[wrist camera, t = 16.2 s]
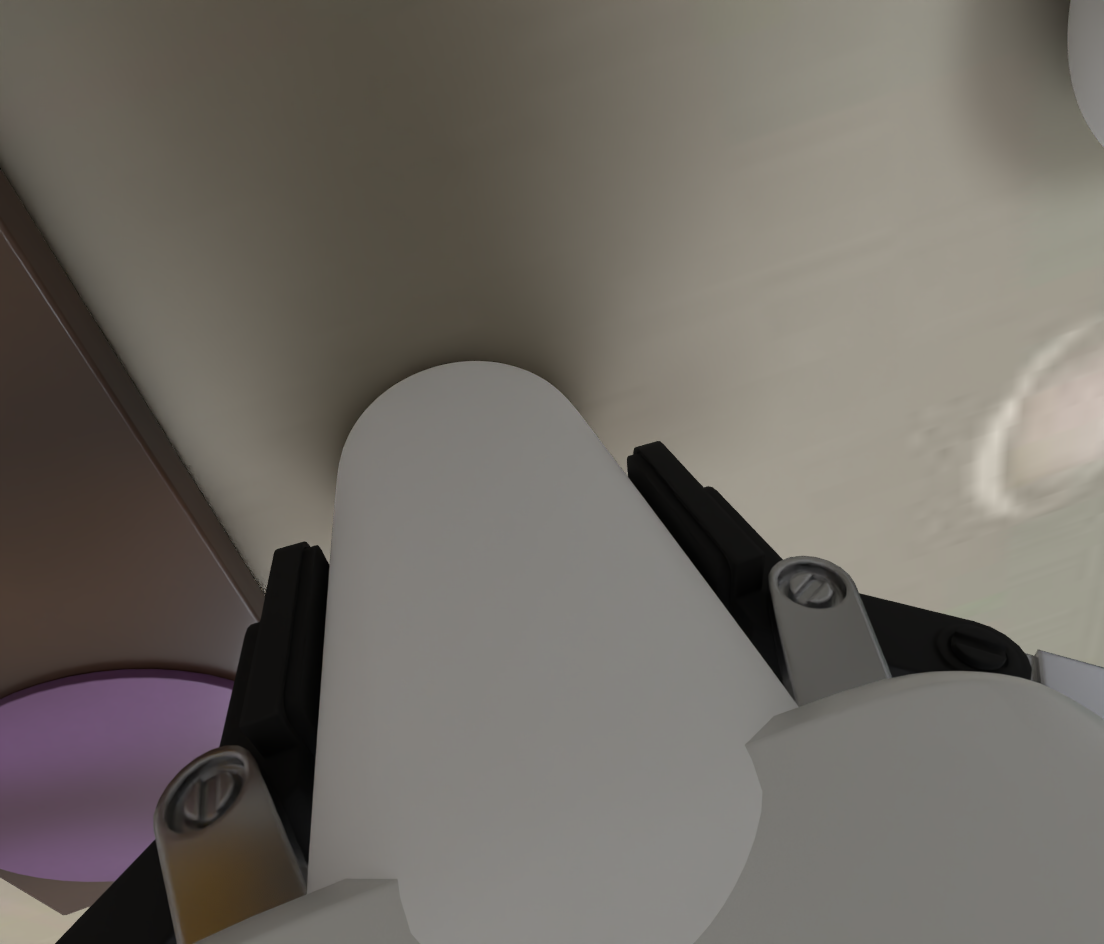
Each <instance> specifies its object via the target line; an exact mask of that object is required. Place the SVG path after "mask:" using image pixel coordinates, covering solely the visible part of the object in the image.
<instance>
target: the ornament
mask: <svg viewBox="0 0 1104 944" xmlns="http://www.w3.org/2000/svg"><path fill="white" fill-rule="evenodd" d="M1067 43H1068V62H1069V70H1070V76H1071V81H1072V86H1073V90H1074V93H1075V97H1076V100H1077V103H1078V105H1079V108H1080V110H1081V113H1082V115H1083V117H1084V119H1085V121H1086V123H1087V124H1088V126H1089V128H1090V129H1091V131H1092V133H1093V134H1094V136H1095V137H1096V138H1097V140H1098V141H1099V142H1100V143H1101V145H1102V146H1103V147H1104V0H1071V1H1070V9H1069V18H1068V37H1067Z"/></svg>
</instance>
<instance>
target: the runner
mask: <svg viewBox="0 0 1104 944" xmlns="http://www.w3.org/2000/svg"><path fill="white" fill-rule="evenodd" d="M264 600H265V596H264V594H263V593H262V591H261V589H260V588H259V586H258V584H257V583H256V581H255V580H254V578H253V576H252V575H251V573H250V571H249V570H248V568H247V567H246V565H245V563H244V562H243V560H242V559H241V557H240V555H239V554H238V552H237V550H236V549H235V547H234V546H233V544H232V542H231V541H230V539H229V538H228V536H227V534H226V533H225V531H224V529H223V528H222V526H221V525H220V523H219V521H218V520H217V518H216V516H215V515H214V513H213V512H212V510H211V508H210V507H209V505H208V504H207V502H206V500H205V499H204V497H203V495H202V494H201V492H200V491H199V489H198V487H197V486H196V484H195V482H194V481H193V479H192V478H191V476H190V474H189V473H188V471H187V470H186V468H185V466H184V465H183V463H182V461H181V460H180V458H179V457H178V455H177V453H176V452H175V450H174V448H173V447H172V445H171V444H170V442H169V440H168V439H167V437H166V436H165V434H164V432H163V431H162V429H161V427H160V426H159V424H158V423H157V421H156V419H155V418H154V416H153V414H152V413H151V411H150V410H149V408H148V406H147V405H146V403H145V402H144V400H143V398H142V397H141V395H140V393H139V392H138V390H137V389H136V387H135V385H134V384H133V382H132V380H131V379H130V377H129V376H128V374H127V372H126V371H125V369H124V368H123V366H122V364H121V363H120V361H119V359H118V358H117V356H116V355H115V353H114V351H113V350H112V348H111V346H110V345H109V343H108V342H107V340H106V338H105V337H104V335H103V334H102V332H101V330H100V329H99V327H98V325H97V324H96V322H95V321H94V319H93V317H92V316H91V314H90V312H89V311H88V309H87V308H86V306H85V304H84V303H83V301H82V300H81V298H80V296H79V295H78V293H77V291H76V290H75V288H74V287H73V285H72V283H71V282H70V280H69V278H68V277H67V275H66V274H65V272H64V270H63V269H62V267H61V266H60V264H59V262H58V261H57V259H56V257H55V256H54V254H53V253H52V251H51V249H50V248H49V246H48V245H47V243H46V241H45V240H44V238H43V236H42V235H41V233H40V232H39V230H38V228H37V227H36V225H35V223H34V222H33V220H32V219H31V217H30V215H29V214H28V212H27V211H26V209H25V207H24V206H23V204H22V202H21V201H20V199H19V198H18V196H17V194H16V193H15V191H14V189H13V188H12V186H11V185H10V183H9V181H8V180H7V178H6V177H5V175H4V173H3V172H2V170H1V168H0V878H2V879H4V880H5V881H7V882H9V883H10V884H12V885H14V886H15V887H17V888H19V889H20V890H22V891H24V892H25V893H27V894H29V895H30V896H32V897H34V898H35V899H37V900H39V901H40V902H42V903H44V904H45V905H47V906H49V907H50V908H52V909H54V910H55V911H57V912H59V913H60V914H62V915H68V914H70V913H73V912H76V911H79V910H81V909H84V908H87V907H90V906H92V905H93V904H94V903H95V901H96V900H97V899H98V898H99V897H100V896H101V895H102V894H103V893H104V892H105V891H106V890H107V889H108V888H109V887H110V886H111V885H112V884H113V883H114V882H115V881H116V880H117V879H118V877H119V876H120V875H121V874H122V873H123V872H124V871H125V870H126V869H127V868H128V867H129V866H130V865H131V864H132V863H133V862H134V861H135V860H136V859H137V858H138V857H139V856H140V855H141V853H142V852H143V851H144V850H145V849H146V848H147V847H148V846H149V845H150V844H151V843H152V842H153V841H154V840H155V835H154V830H153V815H154V812H155V809H156V806H157V803H158V800H159V798H160V796H161V795H162V793H163V792H164V790H165V788H166V787H167V785H168V784H169V782H170V781H171V780H172V779H173V778H174V777H175V776H176V775H177V774H178V772H179V771H180V770H181V769H182V768H184V767H185V766H186V765H187V764H189V763H190V762H191V761H192V760H194V759H195V758H197V757H198V756H200V755H202V754H204V753H206V752H208V751H209V750H212V749H215V748H218V747H219V746H220V742H221V737H222V733H223V729H224V724H225V720H226V716H227V711H228V707H229V702H230V698H231V694H232V689H233V685H234V680H235V676H236V672H237V667H238V663H239V659H240V654H241V650H242V645H243V641H244V637H245V633H246V631H247V628H248V627H249V626H250V625H251V624H254V623H258V622H260V620H261V615H262V610H263V605H264Z"/></svg>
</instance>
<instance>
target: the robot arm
mask: <svg viewBox="0 0 1104 944" xmlns="http://www.w3.org/2000/svg"><path fill="white" fill-rule="evenodd" d="M627 468H628V478H629V479H630V480H631V482H632V483H633V484H634V486H635V487H636V488H637V490H638V491H639V492H640V494H641V495H642V496H643V498H644V499H645V500H646V502H647V503H648V504H649V506H650V507H651V508H652V510H653V511H654V512H655V514H656V515H657V516H658V518H659V519H660V520H661V522H662V523H663V524H664V526H665V527H666V528H667V530H668V531H669V532H670V534H671V535H672V536H673V538H674V539H675V540H676V542H677V543H678V544H679V546H680V547H681V548H682V550H683V551H684V552H685V554H686V555H687V556H688V558H689V559H690V561H691V562H692V563H693V565H694V566H695V567H696V569H697V570H698V571H699V573H700V574H701V575H702V577H703V578H704V579H705V581H706V582H707V583H708V585H709V586H710V587H711V589H712V590H713V591H714V593H715V594H716V595H717V597H718V598H719V599H720V601H721V602H722V604H723V605H724V606H725V608H726V609H727V610H728V612H729V613H730V614H731V616H732V617H733V618H734V620H735V621H736V622H737V624H738V625H739V626H740V628H741V629H742V631H743V632H744V633H745V635H746V636H747V637H748V639H749V640H750V641H751V643H752V644H753V645H754V647H755V648H756V649H757V651H758V652H759V653H760V655H761V656H762V658H763V659H764V660H765V662H766V663H767V664H768V666H769V667H770V668H771V670H772V671H773V672H774V674H775V675H776V676H777V678H778V679H779V681H780V682H781V683H782V685H783V686H784V687H785V689H786V690H787V691H788V693H789V694H790V696H791V697H792V698H793V700H794V701H795V702H796V704H797V705H798V708H795V709H792V710H789V711H786V712H783V713H781V714H778V715H775V716H773V717H772V718H771V719H770V720H769V721H768V722H767V724H765V725H764V726H763V727H762V728H761V729H760V730H759V731H758V732H757V733H756V734H755V735H754V736H753V737H752V738H751V739H750V740H749V741H748V742H747V743H746V744H745V747H746V749H747V751H748V753H749V755H750V757H751V759H752V761H753V764H754V767H755V770H756V773H757V776H758V780H759V783H760V786H761V789H762V809H761V815H760V819H759V824H758V828H757V832H756V836H755V840H754V842H753V845H752V848H751V851H750V853H749V856H748V859H747V861H746V864H745V866H744V868H743V870H742V872H741V874H740V877H739V879H738V881H737V883H736V885H735V887H734V888H733V890H732V892H731V893H730V895H729V897H728V898H727V900H726V902H725V904H724V905H723V907H722V908H721V910H720V911H719V912H718V914H717V915H716V917H715V918H714V920H713V921H712V922H711V924H710V925H709V926H708V927H707V929H706V930H705V931H704V932H703V933H702V934H701V936H700V937H699V938H698V939H697V940H696V941H695V942H694V943H693V944H1104V668H1103V667H1100V666H1096V665H1093V664H1089V663H1085V662H1082V661H1078V660H1074V659H1071V658H1067V657H1063V656H1060V655H1056V654H1052V653H1049V652H1045V651H1041V650H1037V652H1036V654H1035V656H1033V655H1029V654H1026V653H1024V652H1023V650H1022V649H1021V648H1020V647H1019V645H1017V644H1016V643H1015V642H1014V641H1012V640H1011V639H1010V638H1009V637H1007V636H1006V635H1004V634H1003V633H1001V632H999V631H997V630H995V629H993V628H991V627H989V626H986V625H983V624H980V623H977V622H974V621H970V620H966V619H962V618H958V617H954V616H950V615H946V614H942V613H938V612H933V611H929V610H925V609H921V608H917V607H913V606H909V605H905V604H901V603H897V602H893V601H888V600H884V599H880V598H876V597H872V596H868V595H864V594H860V593H859V592H858V590H857V587H856V585H855V583H854V581H853V580H852V578H851V577H850V575H849V574H848V573H847V572H845V571H844V570H843V569H842V568H841V567H839V566H837V565H835V564H833V563H832V562H830V561H827V560H824V559H820V558H817V557H809V556H796V557H790V558H787V559H784V560H783V559H782V558H781V557H780V556H779V555H778V554H777V553H776V552H775V551H774V550H773V549H772V548H771V547H770V546H769V545H768V544H767V543H766V542H765V540H764V539H763V538H762V537H761V536H760V535H759V534H758V533H757V532H756V531H755V530H754V529H753V528H752V527H751V526H750V525H749V524H748V523H747V522H746V521H745V520H744V518H743V517H742V516H741V515H740V514H739V513H738V512H737V511H736V510H735V509H734V508H733V507H732V506H731V505H730V504H729V503H728V502H727V501H726V500H725V499H724V498H723V497H722V495H721V494H720V493H719V492H718V491H717V490H715V489H714V488H713V487H709V486H708V487H703V486H702V485H701V484H700V483H699V482H698V481H697V480H696V479H695V478H694V477H693V476H692V475H691V473H690V472H689V471H688V470H687V469H686V468H685V467H684V466H683V465H682V464H681V463H680V462H679V461H678V459H677V458H676V457H675V456H674V455H673V454H672V453H671V452H670V451H669V450H668V449H667V448H666V447H665V445H664V444H663V443H661V442H660V441H656V442H653V443H649V444H646V445H642V446H638V447H635V448H634V452H633V455H630V456H628V457H627ZM329 567H330V566H329V564H328V562H327V560H326V558H325V556H324V554H323V552H322V550H321V548H320V547H319V546H318V545H316V546H312V547H310V546H309V544H308V543H307V542H301V543H297V544H294V545H290V546H286V547H283V548H279V549H277V550H275V552H274V556H273V561H272V566H271V571H270V575H269V580H268V585H267V590H266V595H265V600H264V605H263V610H262V615H261V620H260V622H258V623H254V624H251V625H250V626H249V627H248V628H247V631H246V633H245V637H244V641H243V645H242V650H241V654H240V659H239V663H238V667H237V672H236V676H235V680H234V685H233V689H232V694H231V698H230V702H229V707H228V711H227V716H226V720H225V724H224V729H223V733H222V737H221V742H220V746H219V747H218V748H215V749H212V750H209V751H208V752H206V753H204V754H202V755H200V756H198V757H197V758H195V759H194V760H192V761H191V762H190V763H189V764H187V765H186V766H185V767H184V768H182V769H181V770H180V771H179V772H178V774H177V775H176V776H175V777H174V778H173V779H172V780H171V781H170V782H169V784H168V785H167V787H166V788H165V790H164V792H163V793H162V795H161V796H160V798H159V800H158V803H157V806H156V809H155V812H154V815H153V830H154V835H155V840H154V841H153V842H152V843H151V844H150V845H149V846H148V847H147V848H146V849H145V850H144V851H143V852H142V853H141V855H140V856H139V857H138V858H137V859H136V860H135V861H134V862H133V863H132V864H131V865H130V866H129V867H128V868H127V869H126V870H125V871H124V872H123V873H122V874H121V875H120V876H119V877H118V879H117V880H116V881H115V882H114V883H113V884H112V885H111V886H110V887H109V888H108V889H107V890H106V891H105V892H104V893H103V894H102V895H101V896H100V897H99V898H98V899H97V900H96V901H95V903H94V904H93V905H92V906H91V907H90V908H89V909H88V910H87V911H86V912H85V913H84V914H83V915H82V916H81V917H80V918H79V919H78V920H77V921H76V922H75V923H74V924H73V926H72V927H71V928H70V929H69V930H68V931H67V932H66V933H65V934H64V935H63V936H62V937H61V938H60V939H59V940H58V941H57V942H56V943H55V944H420V943H419V942H418V941H417V940H416V938H415V937H414V936H413V935H412V934H411V932H410V929H409V925H408V922H407V919H406V915H405V912H404V909H403V906H402V902H401V899H400V893H399V886H398V879H348V878H346V879H343V880H341V881H339V882H336V883H334V884H331V885H329V886H326V887H324V888H321V889H319V890H316V891H314V892H311V893H309V894H307V878H308V863H309V847H310V832H311V818H312V803H313V789H314V774H315V760H316V746H317V731H318V717H319V703H320V689H321V676H322V662H323V648H324V634H325V620H326V607H327V594H328V580H329Z"/></svg>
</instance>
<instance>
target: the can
mask: <svg viewBox="0 0 1104 944" xmlns="http://www.w3.org/2000/svg"><path fill="white" fill-rule="evenodd" d="M795 708H798V705H797V704H796V702H795V701H794V700H793V698H792V697H791V696H790V694H789V693H788V691H787V690H786V689H785V687H784V686H783V685H782V683H781V682H780V681H779V679H778V678H777V676H776V675H775V674H774V672H773V671H772V670H771V668H770V667H769V666H768V664H767V663H766V662H765V660H764V659H763V658H762V656H761V655H760V653H759V652H758V651H757V649H756V648H755V647H754V645H753V644H752V643H751V641H750V640H749V639H748V637H747V636H746V635H745V633H744V632H743V631H742V629H741V628H740V626H739V625H738V624H737V622H736V621H735V620H734V618H733V617H732V616H731V614H730V613H729V612H728V610H727V609H726V608H725V606H724V605H723V604H722V602H721V601H720V599H719V598H718V597H717V595H716V594H715V593H714V591H713V590H712V589H711V587H710V586H709V585H708V583H707V582H706V581H705V579H704V578H703V577H702V575H701V574H700V573H699V571H698V570H697V569H696V567H695V566H694V565H693V563H692V562H691V561H690V559H689V558H688V556H687V555H686V554H685V552H684V551H683V550H682V548H681V547H680V546H679V544H678V543H677V542H676V540H675V539H674V538H673V536H672V535H671V534H670V532H669V531H668V530H667V528H666V527H665V526H664V524H663V523H662V522H661V520H660V519H659V518H658V516H657V515H656V514H655V512H654V511H653V510H652V508H651V507H650V506H649V504H648V503H647V502H646V500H645V499H644V498H643V496H642V495H641V494H640V492H639V491H638V490H637V488H636V487H635V486H634V484H633V483H632V482H631V480H630V479H629V478H628V476H627V475H626V474H625V472H624V471H623V470H622V468H621V467H620V466H619V464H618V463H617V462H616V460H615V459H614V458H613V456H612V455H611V454H610V452H609V451H608V450H607V448H606V447H605V446H604V444H603V443H602V442H601V440H600V439H599V438H598V436H597V435H596V434H595V432H594V431H593V430H592V429H591V427H590V426H589V425H588V423H587V422H586V421H585V419H584V418H583V417H582V416H581V414H580V413H579V412H578V411H577V409H576V408H575V407H574V406H573V404H572V403H571V402H570V401H569V400H568V399H567V398H566V397H565V396H564V395H563V394H562V393H561V392H560V391H559V390H558V389H557V388H555V387H554V386H553V385H552V384H550V383H549V382H547V381H546V380H544V379H543V378H541V377H539V376H537V375H535V374H533V373H531V372H529V371H526V370H524V369H521V368H518V367H515V366H511V365H507V364H502V363H497V362H488V361H464V362H455V363H449V364H444V365H440V366H436V367H433V368H429V369H426V370H424V371H421V372H418V373H416V374H414V375H412V376H410V377H408V378H406V379H404V380H402V381H400V382H399V383H397V384H395V385H394V386H392V387H391V388H389V389H388V390H387V391H385V392H384V393H383V394H381V395H380V396H379V397H378V398H377V399H376V400H375V401H374V402H373V403H372V404H371V405H370V406H369V407H368V408H367V409H366V410H365V411H364V412H363V414H362V415H361V416H360V417H359V419H358V420H357V422H356V423H355V425H354V426H353V428H352V430H351V432H350V434H349V435H348V438H347V440H346V442H345V445H344V447H343V451H342V454H341V458H340V462H339V467H338V474H337V483H336V493H335V504H334V516H333V528H332V541H331V554H330V567H329V580H328V594H327V607H326V620H325V634H324V648H323V662H322V676H321V689H320V703H319V717H318V731H317V746H316V760H315V774H314V789H313V803H312V818H311V832H310V847H309V863H308V878H307V894H309V893H311V892H314V891H316V890H319V889H321V888H324V887H326V886H329V885H331V884H334V883H336V882H339V881H341V880H343V879H346V878H348V879H398V886H399V893H400V899H401V902H402V906H403V909H404V912H405V915H406V919H407V922H408V925H409V929H410V932H411V934H412V935H413V936H414V937H415V938H416V940H417V941H418V942H419V943H420V944H693V943H694V942H695V941H696V940H697V939H698V938H699V937H700V936H701V934H702V933H703V932H704V931H705V930H706V929H707V927H708V926H709V925H710V924H711V922H712V921H713V920H714V918H715V917H716V915H717V914H718V912H719V911H720V910H721V908H722V907H723V905H724V904H725V902H726V900H727V898H728V897H729V895H730V893H731V892H732V890H733V888H734V887H735V885H736V883H737V881H738V879H739V877H740V874H741V872H742V870H743V868H744V866H745V864H746V861H747V859H748V856H749V853H750V851H751V848H752V845H753V842H754V840H755V836H756V832H757V828H758V824H759V819H760V815H761V809H762V789H761V786H760V783H759V780H758V776H757V773H756V770H755V767H754V764H753V761H752V759H751V757H750V755H749V753H748V751H747V749H746V747H745V744H746V743H747V742H748V741H749V740H750V739H751V738H752V737H753V736H754V735H755V734H756V733H757V732H758V731H759V730H760V729H761V728H762V727H763V726H764V725H765V724H767V722H768V721H769V720H770V719H771V718H772V717H773V716H775V715H778V714H781V713H783V712H786V711H789V710H792V709H795Z"/></svg>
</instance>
